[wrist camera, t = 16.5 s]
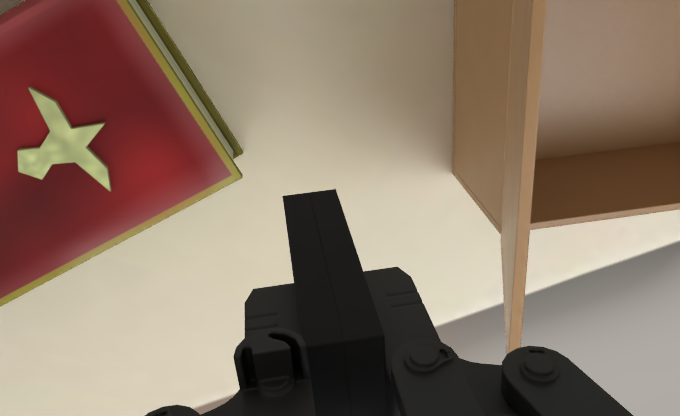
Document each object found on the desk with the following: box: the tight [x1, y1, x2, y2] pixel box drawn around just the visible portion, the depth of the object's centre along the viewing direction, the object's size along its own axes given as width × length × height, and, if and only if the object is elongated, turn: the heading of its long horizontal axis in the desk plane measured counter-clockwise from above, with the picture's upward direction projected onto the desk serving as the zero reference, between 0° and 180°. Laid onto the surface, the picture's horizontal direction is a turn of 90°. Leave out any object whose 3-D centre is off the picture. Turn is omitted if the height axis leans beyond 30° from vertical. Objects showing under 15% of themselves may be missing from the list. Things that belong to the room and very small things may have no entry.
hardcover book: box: [0, 0, 243, 306], centre depth 31 cm, size 12×21×4 cm, turn 117°
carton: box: [453, 0, 680, 234], centre depth 31 cm, size 19×14×8 cm
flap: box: [501, 0, 548, 354], centre depth 22 cm, size 9×14×1 cm
